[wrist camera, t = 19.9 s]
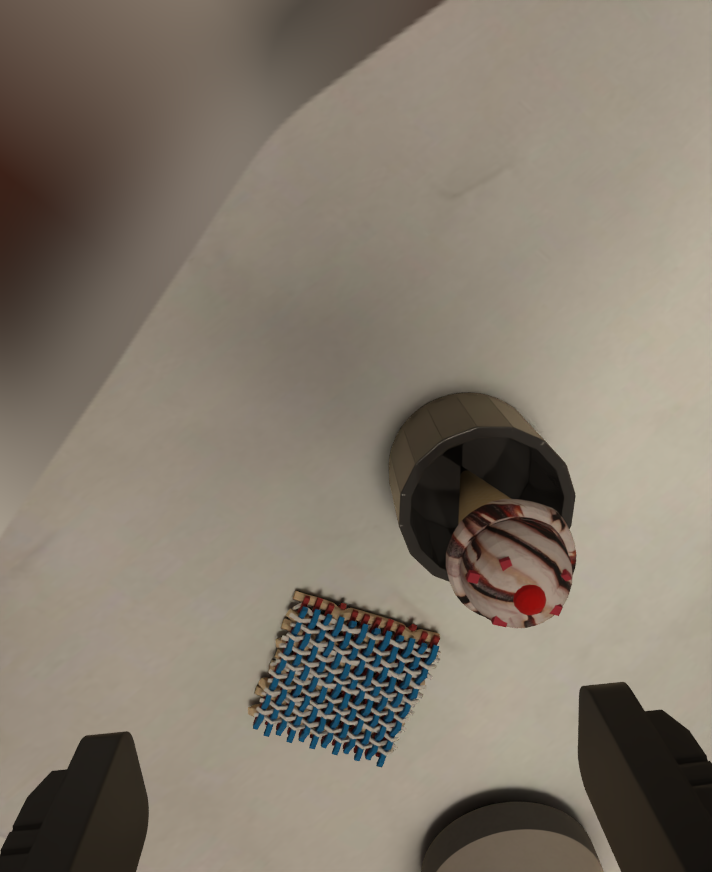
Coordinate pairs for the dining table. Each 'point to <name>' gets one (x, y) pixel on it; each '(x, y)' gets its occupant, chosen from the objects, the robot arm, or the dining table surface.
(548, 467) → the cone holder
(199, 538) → the dining table surface
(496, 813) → the planter
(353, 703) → the woven mat
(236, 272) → the dining table surface
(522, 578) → the ice cream cone
